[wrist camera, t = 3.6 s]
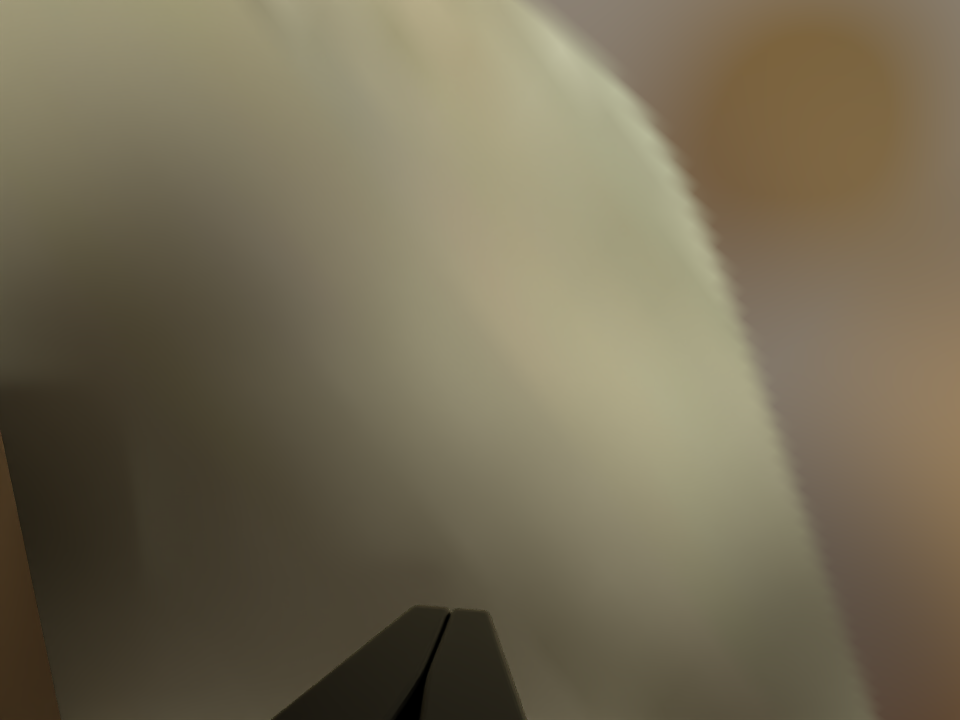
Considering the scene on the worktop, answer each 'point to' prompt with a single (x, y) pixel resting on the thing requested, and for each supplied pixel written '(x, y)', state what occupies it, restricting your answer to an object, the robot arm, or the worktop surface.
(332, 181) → the worktop surface
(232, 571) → the worktop surface
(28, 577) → the wooden crate tray
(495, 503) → the worktop surface
